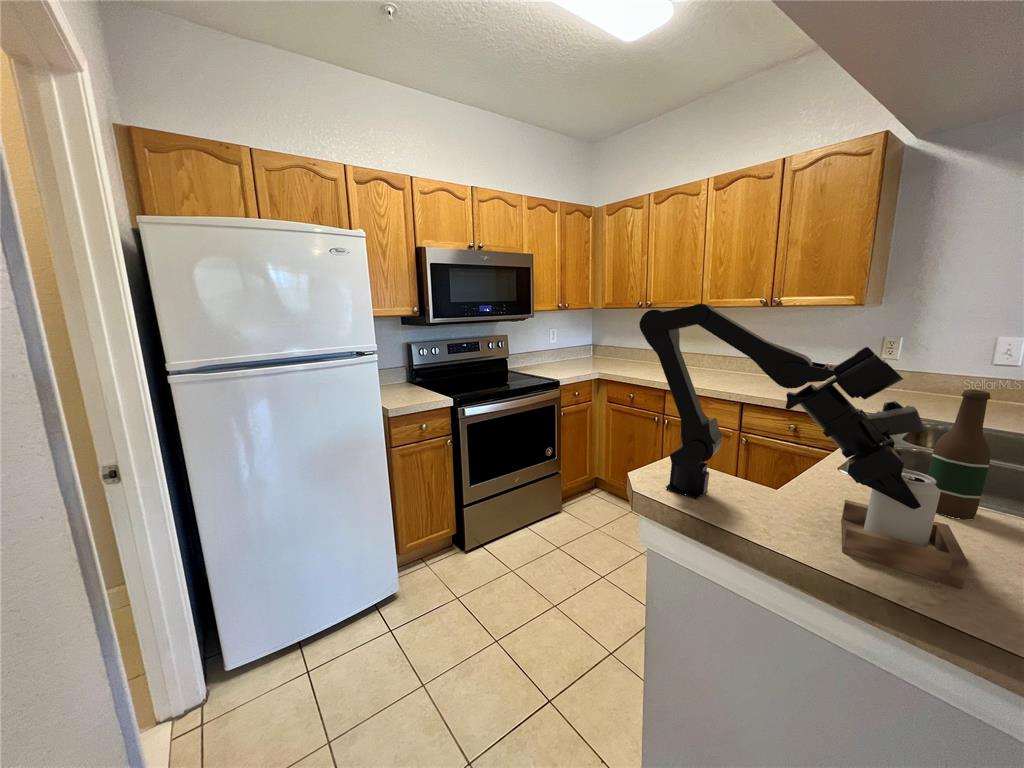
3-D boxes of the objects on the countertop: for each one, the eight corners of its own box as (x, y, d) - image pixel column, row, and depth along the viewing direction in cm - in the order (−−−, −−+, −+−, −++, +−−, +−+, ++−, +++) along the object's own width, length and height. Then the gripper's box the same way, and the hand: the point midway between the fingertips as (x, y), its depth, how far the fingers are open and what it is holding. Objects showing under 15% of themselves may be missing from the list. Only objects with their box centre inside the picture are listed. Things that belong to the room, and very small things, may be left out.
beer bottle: (928, 514, 76) (958, 392, 72) (912, 497, 83) (938, 385, 79) (986, 525, 73) (1021, 397, 68) (964, 507, 80) (994, 389, 75)
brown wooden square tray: (842, 552, 63) (846, 529, 63) (841, 519, 73) (845, 499, 73) (961, 588, 55) (968, 563, 55) (942, 547, 65) (948, 524, 65)
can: (920, 563, 59) (938, 488, 57) (856, 539, 65) (870, 471, 63) (930, 547, 64) (947, 476, 61) (869, 526, 69) (882, 461, 67)
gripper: (895, 396, 55) (996, 495, 50) (883, 379, 69) (960, 455, 65) (814, 438, 61) (897, 529, 57) (818, 414, 76) (885, 486, 71)
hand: (912, 496), depth 62 cm, fingers open, 9 cm apart
